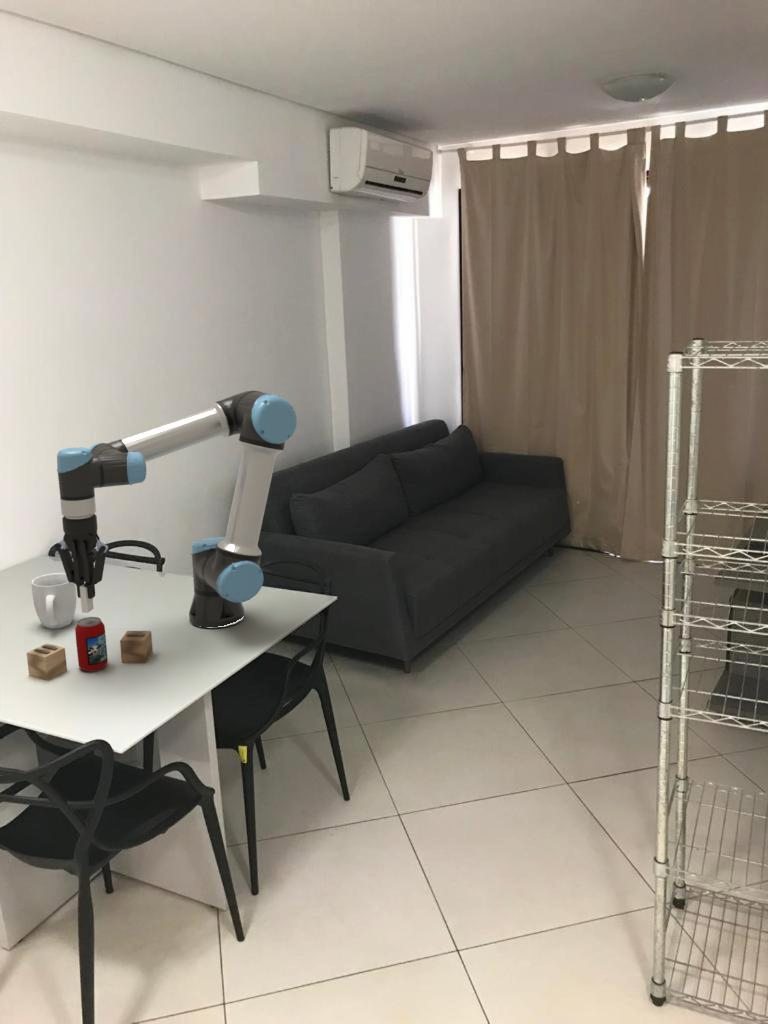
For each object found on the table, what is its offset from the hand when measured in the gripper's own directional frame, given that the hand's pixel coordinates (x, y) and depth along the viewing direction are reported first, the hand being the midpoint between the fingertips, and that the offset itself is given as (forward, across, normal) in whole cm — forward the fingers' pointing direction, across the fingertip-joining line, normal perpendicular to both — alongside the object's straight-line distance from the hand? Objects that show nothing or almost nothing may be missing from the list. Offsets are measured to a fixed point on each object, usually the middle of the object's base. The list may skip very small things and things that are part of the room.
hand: (87, 610), depth 199 cm
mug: (+15, +23, -22) cm, 35 cm away
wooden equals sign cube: (+15, +9, +5) cm, 18 cm away
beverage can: (+15, 0, 0) cm, 15 cm away
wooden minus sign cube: (+15, -8, -7) cm, 18 cm away
